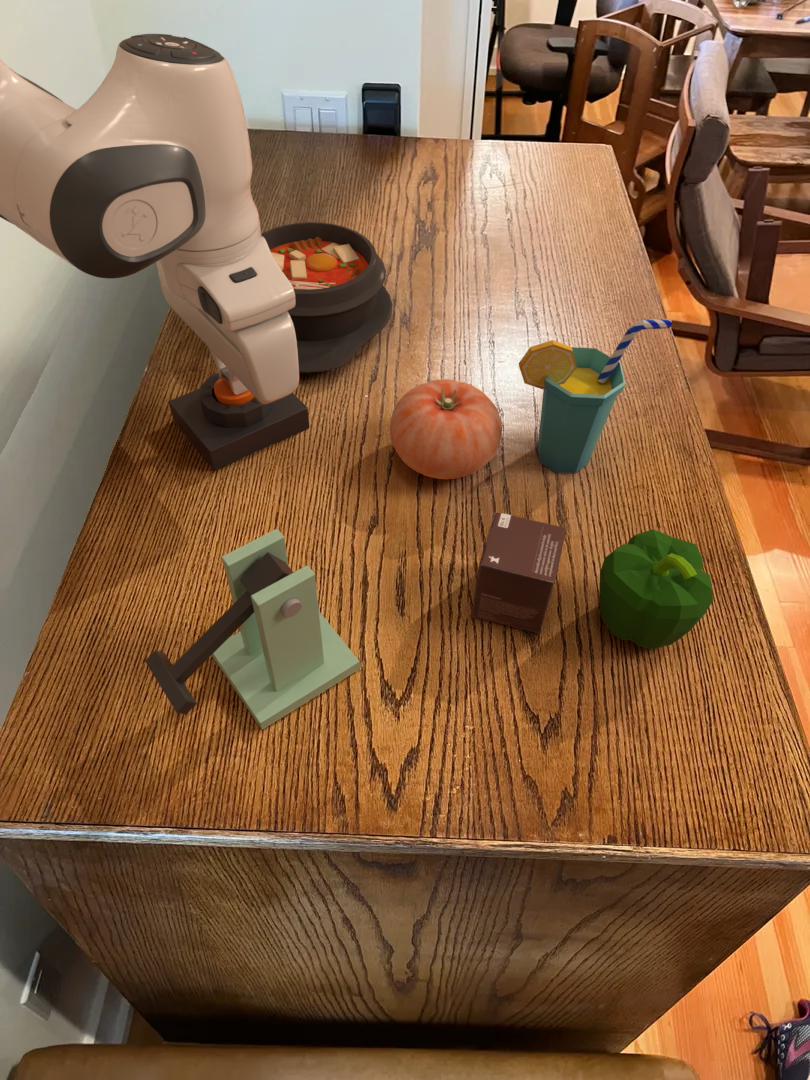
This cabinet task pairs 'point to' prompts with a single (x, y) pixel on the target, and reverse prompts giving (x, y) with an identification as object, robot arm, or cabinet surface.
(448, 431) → the tomato
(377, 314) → the casserole
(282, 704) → the lever stand
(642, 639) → the bell pepper
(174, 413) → the button housing
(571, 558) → the cabinet surface
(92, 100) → the robot arm
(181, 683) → the lever
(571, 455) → the cup
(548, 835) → the cabinet surface
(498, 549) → the box
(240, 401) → the button
